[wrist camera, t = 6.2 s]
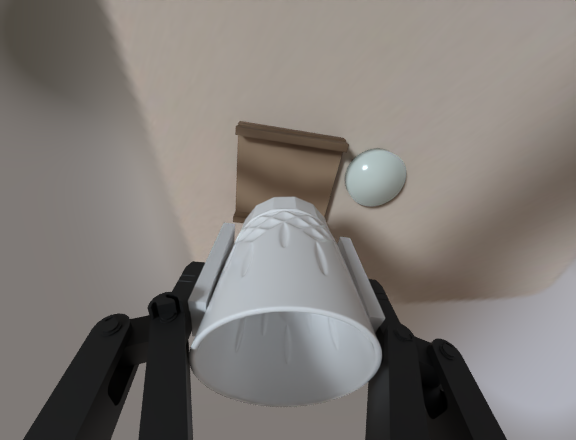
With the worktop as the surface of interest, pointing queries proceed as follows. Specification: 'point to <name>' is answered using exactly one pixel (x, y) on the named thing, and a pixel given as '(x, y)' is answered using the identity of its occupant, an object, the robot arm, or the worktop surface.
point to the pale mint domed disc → (375, 177)
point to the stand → (284, 166)
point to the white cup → (285, 315)
